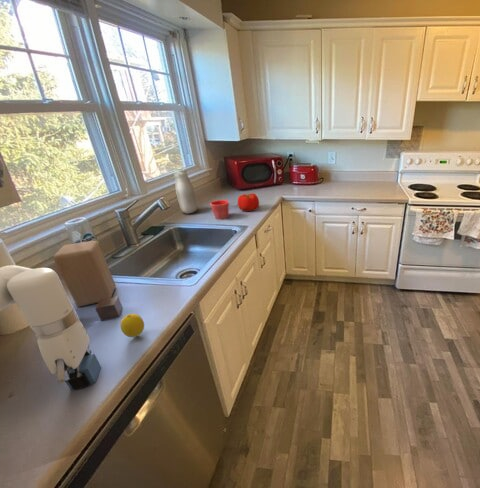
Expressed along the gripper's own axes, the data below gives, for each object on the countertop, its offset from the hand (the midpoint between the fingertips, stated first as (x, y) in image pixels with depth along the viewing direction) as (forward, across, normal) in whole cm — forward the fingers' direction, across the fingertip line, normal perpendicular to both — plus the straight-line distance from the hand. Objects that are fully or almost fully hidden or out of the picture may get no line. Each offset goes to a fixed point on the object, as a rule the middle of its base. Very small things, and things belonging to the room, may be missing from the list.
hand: (85, 376), depth 70 cm
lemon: (+1, -12, +9) cm, 15 cm away
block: (+1, -40, -8) cm, 41 cm away
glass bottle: (+1, -127, +20) cm, 129 cm away
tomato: (+1, -118, +57) cm, 131 cm away
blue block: (0, 0, 0) cm, 0 cm away
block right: (0, -26, 0) cm, 27 cm away
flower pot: (+1, -110, +39) cm, 117 cm away
